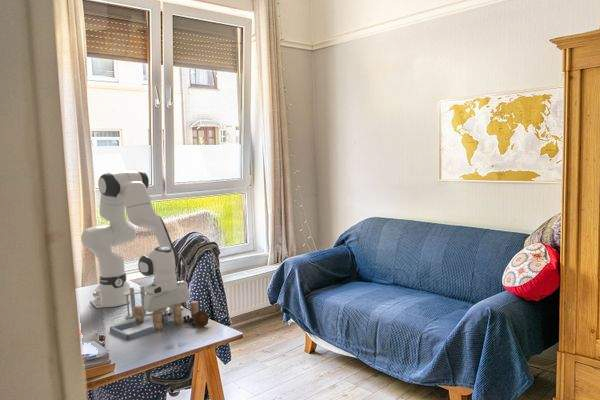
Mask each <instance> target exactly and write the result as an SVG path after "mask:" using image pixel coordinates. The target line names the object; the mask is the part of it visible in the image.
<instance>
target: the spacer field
mask: <svg viewBox="0 0 600 400" xmlns="http://www.w3.org/2000/svg"><path fill="white" fill-rule="evenodd" d="M189 304H190V305H189V306H190V318H192V317H194V314H195V313H196V312H198V311H199V310H200V309H199V301H197V300H194V301H193V300H192V301H191V302H189ZM181 306H182V303H180V304H177V305H174V308H173V312H172V314H173V326H175V327H178V326H179V325H180V326H182V325H183V322H182V321H181V320H183V315H182V310H181ZM134 312H135V318H134V320H136V322H137V325H141V324H143V323H144V316H143V312H142V305H135V307H134ZM161 314H163V313H162V309H159V310H156V311H154V314H153V315H152V321H153V320H154V323H153V333H162V332H163V325H162V315H161ZM180 326H179V327H180Z"/></svg>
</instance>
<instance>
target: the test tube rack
mask: <svg viewBox="0 0 600 400" xmlns="http://www.w3.org/2000/svg"><path fill="white" fill-rule="evenodd" d="M139 288H140V289H138V290H135V287H134V286H130V292H124V296H125V295H126V300H127V304H126V310H127V314H124V316H125V320H129V319H130V320H131V319H135V312H134V307H135V306H136V298H135V295H138V294H140V301H141V306H142V312H143V317H147V316H153V314H154V311H153V312H147V311H146V310H145V309H144V296H145V294H146V292H145V291H144V289H145V285H140V287H139ZM128 295H130V297H131V301H130V302H129V301H128ZM129 305H130V306H129ZM130 308H131V311H130ZM181 309H184V307H183V305H181ZM169 310H170V307H167V310H166V311H167V312H168V311H169ZM162 314H163V311H162Z"/></svg>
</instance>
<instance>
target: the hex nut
mask: <svg viewBox="0 0 600 400" xmlns="http://www.w3.org/2000/svg"><path fill="white" fill-rule="evenodd" d="M161 315H162V324H163V325H166V324H167V323H168V322H169V321H168V320H169V319H168V317H167V314H164V313H162V314H161ZM152 321H153V324H154V320H153V319H152ZM166 322H167V323H166ZM165 323H166V324H165Z"/></svg>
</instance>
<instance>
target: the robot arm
mask: <svg viewBox="0 0 600 400" xmlns="http://www.w3.org/2000/svg"><path fill="white" fill-rule="evenodd" d="M97 185H98V189H99V192H100V193H101V194H100V199H99V200H100V201H99V209H98V211H99V215H100V217H101V218H103V220H105V221H108V222H109V223H108V224H101V225H96V226H95V225H94V226H91V227H87V228H85V229H84V230H83V231H82V233H81V236H80V237H81V238H80V239H81V243H82V245H83V247H85V249H87V250H90V251H91V252H92V253H93V254H94V255H95V257H96V258H97V260H98V265H99V271H100V276H99V282H98V283H99V284H98V285H97V287H96V288H95V289H94V292H93V291H92V296H93V297H94V298H91V299H90V300H89V301H90V303H91V304H92V305H93V306H94V307H95V308H97V309H98V308H99V309H102V308H114V307H120V306H124V305H127V300H126V295H125V296H124V292H130V287H131V286H130V285H131V284H130V283H129V282H128V281H127V274H126V272H125V262H124V261H125V260H124V257H123V256H122V255H120V254H118V253H115V252H113V250H112V248H113V247H118V246H124V245H127V244H129V243H133V242H134V241H135V239H136V236H137V229H136V228H135V227H139V228H144V229H147V230H149V231H151V232H152V233H153V234H154V235H155V238H156V241H157V243H158V246H157V247H155V248H154V249H153V250H152V251H150V252H149V253H145V254H144V255H141V256H140V257H139V260H138V264H137V265H138V266H137V267H138V271H139V273H141V275H142V276H144V277H152V276H154V281H153V282H152V283H150V284H148V285H147V286H144V291H145V296H144V309H145V310H146V311H147V312H153V311H156V310H159V309H162V311H163V312H164V314H167V318H170V317H172V316H173V308H174V305H177V304H180V303H181V304H183V303H186V302H189V301H190V293H189V292H190V290H189V283H188V282H187V281H185V280H181V281H177V274H176V270H177V268H178V267H179V265H180V256H179V254H178V253H177V251H176V249H175V247H174V245H173V242H172V239H171V237H170V235H169V231H168V230H167V227H166V224H165V222H164V220H163V219H162V217H161V216H160V215H158V214H157V213H156V211H155V209H154V207H153V204H152V201H151V196H150V193H149V191H148V187H149V185H150V181H149V175H148V174H147V173H146V172H145V171H144V170H140V169H135V170H130V169H129V170H120V171H114V172H106V173H103V174H101V175H100V177H99V179H98V183H97ZM125 213H126V215H125ZM126 216H127V218H126ZM127 219H128V220H127ZM128 301H129V303H131V297H130V295H128ZM167 308H170V310H169V312H167V311H166V310H167ZM173 317H174V316H173Z"/></svg>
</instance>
